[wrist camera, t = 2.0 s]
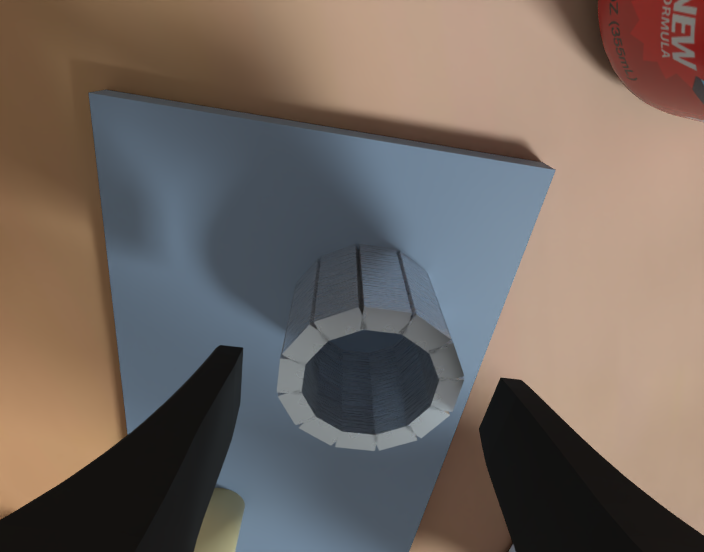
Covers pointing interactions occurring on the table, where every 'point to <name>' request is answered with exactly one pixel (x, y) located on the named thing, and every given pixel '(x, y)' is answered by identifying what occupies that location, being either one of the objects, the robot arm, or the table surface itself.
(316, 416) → the grey hollow cylinder
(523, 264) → the table surface
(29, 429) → the table surface
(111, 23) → the table surface
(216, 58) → the table surface
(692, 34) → the soda can
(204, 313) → the plate
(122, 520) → the robot arm
